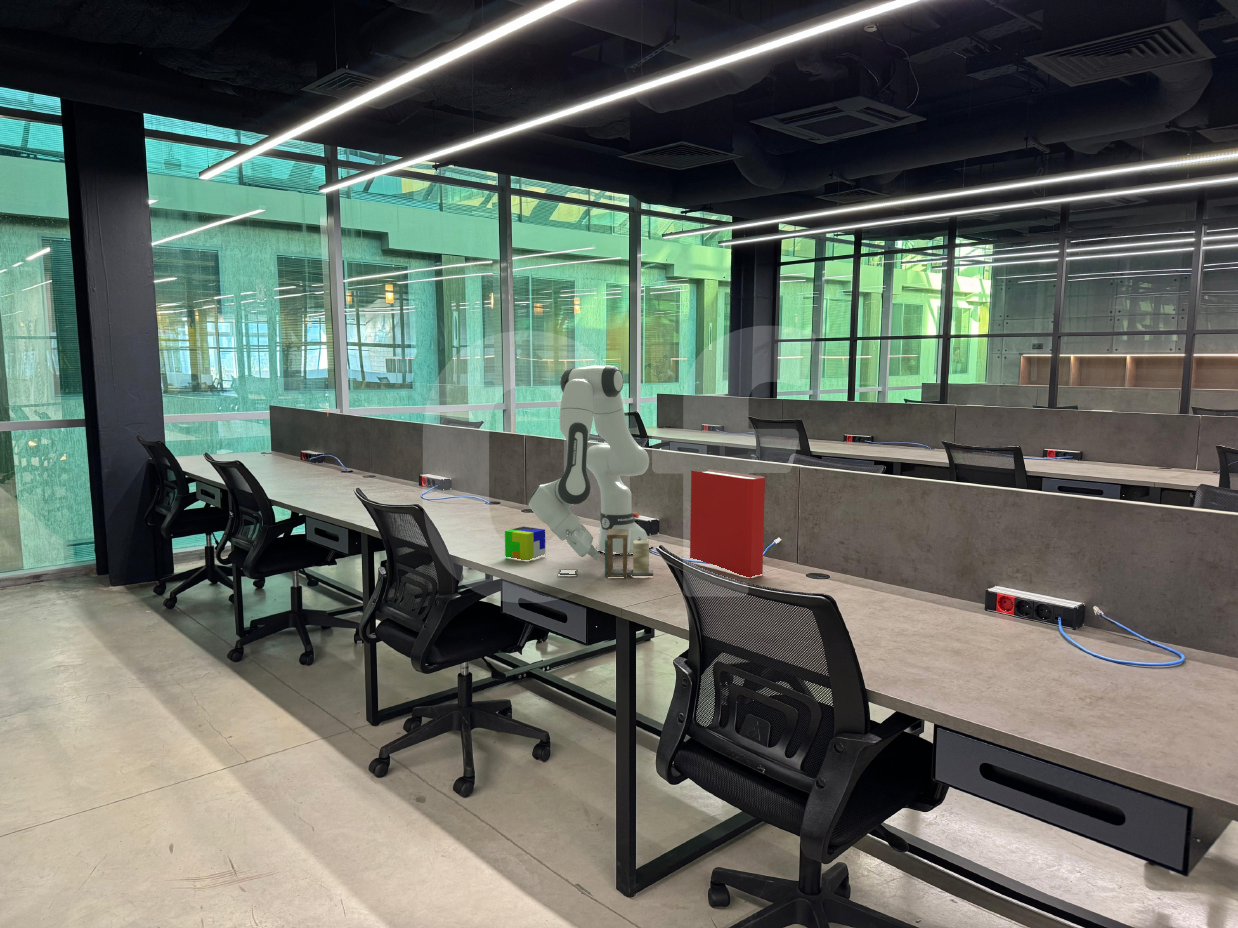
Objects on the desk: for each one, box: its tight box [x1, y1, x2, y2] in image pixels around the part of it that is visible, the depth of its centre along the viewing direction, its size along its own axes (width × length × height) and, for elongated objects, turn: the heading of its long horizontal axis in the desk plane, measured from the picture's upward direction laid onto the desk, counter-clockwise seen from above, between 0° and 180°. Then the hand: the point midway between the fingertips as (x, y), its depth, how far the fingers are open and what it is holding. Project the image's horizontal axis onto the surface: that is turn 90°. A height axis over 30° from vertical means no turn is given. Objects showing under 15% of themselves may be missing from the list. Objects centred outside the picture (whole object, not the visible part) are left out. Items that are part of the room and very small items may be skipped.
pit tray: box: [557, 568, 579, 576], centre depth 256 cm, size 6×6×1 cm
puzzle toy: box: [504, 526, 546, 560], centre depth 278 cm, size 10×10×10 cm
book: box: [689, 468, 766, 577], centre depth 263 cm, size 27×8×32 cm, turn 37°
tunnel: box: [607, 529, 628, 579], centre depth 255 cm, size 6×9×14 cm
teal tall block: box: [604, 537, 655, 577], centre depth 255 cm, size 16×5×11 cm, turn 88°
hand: (598, 557), depth 255 cm, fingers closed
